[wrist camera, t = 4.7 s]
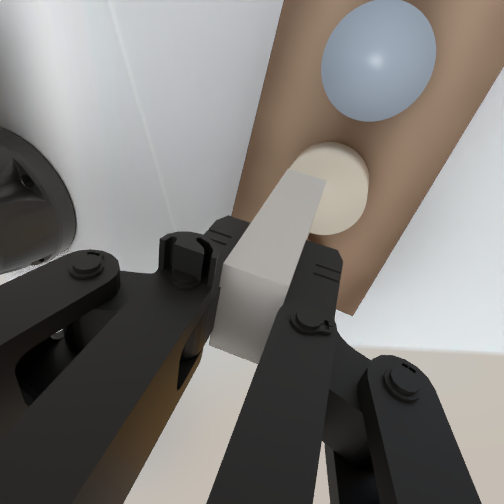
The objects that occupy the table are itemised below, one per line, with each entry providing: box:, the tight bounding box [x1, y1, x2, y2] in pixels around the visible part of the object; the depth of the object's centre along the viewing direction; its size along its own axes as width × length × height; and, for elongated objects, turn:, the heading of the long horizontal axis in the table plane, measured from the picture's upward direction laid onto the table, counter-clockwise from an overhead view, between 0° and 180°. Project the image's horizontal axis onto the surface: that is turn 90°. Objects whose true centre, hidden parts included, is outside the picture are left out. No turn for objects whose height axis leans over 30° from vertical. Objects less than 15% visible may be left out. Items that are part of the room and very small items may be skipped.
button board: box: [232, 0, 504, 316], centre depth 22 cm, size 12×28×3 cm, turn 165°
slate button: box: [321, 0, 436, 122], centre depth 17 cm, size 5×5×3 cm
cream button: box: [289, 142, 369, 235], centre depth 21 cm, size 5×5×3 cm
